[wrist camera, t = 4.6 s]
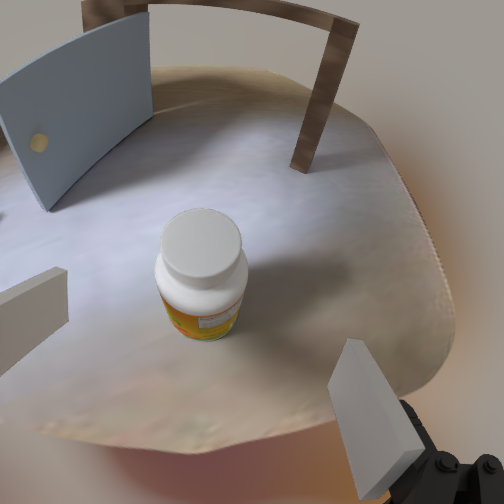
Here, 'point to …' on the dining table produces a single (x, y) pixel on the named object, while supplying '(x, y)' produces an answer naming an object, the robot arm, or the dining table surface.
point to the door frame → (341, 30)
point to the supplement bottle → (201, 273)
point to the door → (77, 104)
